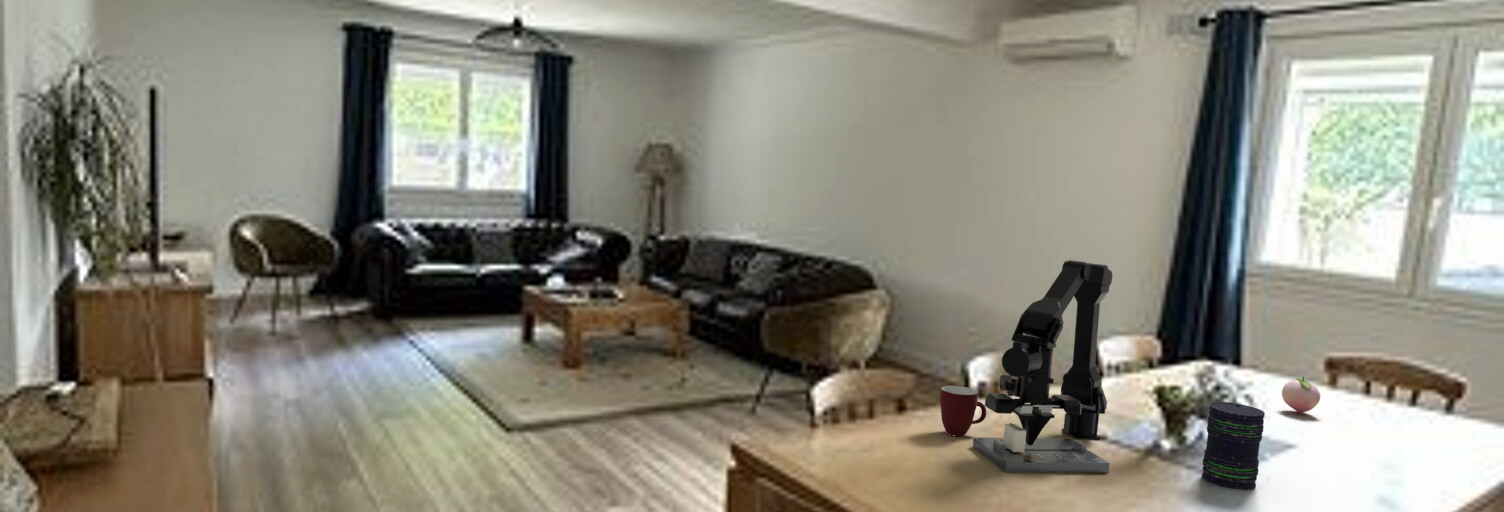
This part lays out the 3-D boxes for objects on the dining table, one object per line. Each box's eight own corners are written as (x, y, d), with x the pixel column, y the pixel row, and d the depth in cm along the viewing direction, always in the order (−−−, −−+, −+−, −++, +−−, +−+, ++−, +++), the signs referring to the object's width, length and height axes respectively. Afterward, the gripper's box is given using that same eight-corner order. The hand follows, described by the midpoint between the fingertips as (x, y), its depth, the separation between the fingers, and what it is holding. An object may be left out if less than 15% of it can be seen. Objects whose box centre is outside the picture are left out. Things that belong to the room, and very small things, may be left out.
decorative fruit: (1273, 407, 248) (1278, 371, 247) (1306, 410, 247) (1310, 374, 246) (1289, 416, 239) (1293, 379, 238) (1322, 419, 238) (1327, 381, 237)
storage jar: (1254, 494, 175) (1263, 418, 174) (1198, 482, 180) (1206, 408, 179) (1257, 481, 184) (1266, 408, 182) (1203, 469, 189) (1212, 399, 187)
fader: (1013, 444, 190) (1015, 423, 190) (1024, 452, 185) (1026, 430, 185) (1003, 444, 190) (1004, 423, 189) (1013, 451, 185) (1015, 430, 185)
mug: (973, 428, 209) (977, 385, 208) (991, 439, 201) (995, 394, 200) (931, 429, 206) (934, 385, 205) (947, 440, 199) (951, 395, 198)
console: (1068, 447, 199) (1069, 431, 198) (1108, 472, 183) (1110, 455, 183) (972, 446, 195) (974, 430, 194) (1005, 472, 179) (1007, 454, 179)
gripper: (1059, 362, 196) (1052, 433, 198) (977, 360, 193) (970, 432, 194) (1086, 375, 185) (1078, 449, 187) (1000, 372, 182) (993, 449, 183)
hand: (1029, 444), depth 188 cm, fingers closed
